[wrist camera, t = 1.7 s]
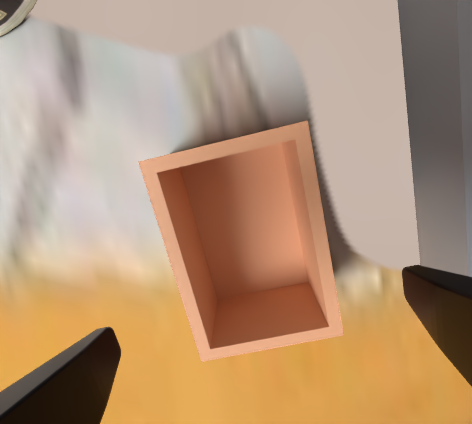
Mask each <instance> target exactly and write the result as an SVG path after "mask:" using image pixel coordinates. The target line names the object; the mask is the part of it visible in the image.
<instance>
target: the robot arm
mask: <svg viewBox="0 0 472 424" xmlns="http://www.w3.org/2000/svg"><path fill="white" fill-rule="evenodd" d="M402 278H403V287H404V295H405V298H406V300H407V302H408V303H409V305H410V306H411V308H412V309H413V311H414V312H415V314H416V315H417V316H418V318H419V319H420V321H421V322H422V324H423V325H424V327H425V328H426V330H427V331H428V333H429V334H430V336H431V337H432V339H433V340H434V341H435V343H436V344H437V345H438V347H439V348H440V349H441V351H442V352H443V353H444V354H445V355H446V357H447V358H448V359H449V360H450V361H451V363H452V364H453V365H454V366H455V367H456V369H457V370H458V371H459V372H460V373H461V374H462V376H463V377H464V378H465V379H466V380H467V382H468V383H469V384H470V385H471V386H472V277H470V276H465V275H461V274H456V273H452V272H447V271H443V270H438V269H434V268H430V267H425V266H421V265H414V266H409V267H405V268H403V270H402ZM120 357H121V349H120V346H119V343H118V340H117V338H116V335H115V333H114V330H113V329H112V328H111V327H104V328H99V329H97V330H95V331H93V332H92V333H90V334H89V335H87V336H86V337H84V338H83V339H81V340H80V341H78V342H77V343H75V344H73V345H72V346H70V347H69V348H67V349H66V350H64V351H63V352H61V353H60V354H58V355H57V356H55V357H53V358H52V359H50V360H49V361H47V362H46V363H44V364H43V365H41V366H40V367H38V368H37V369H35V370H33V371H32V372H30V373H29V374H27V375H26V376H24V377H23V378H21V379H20V380H18V381H17V382H15V383H13V384H12V385H10V386H9V387H7V388H6V389H4V390H3V391H1V392H0V424H100V422H101V420H102V417H103V414H104V411H105V409H106V406H107V403H108V399H109V396H110V393H111V389H112V385H113V382H114V378H115V375H116V371H117V368H118V364H119V361H120Z"/></svg>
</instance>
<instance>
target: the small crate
mask: <svg viewBox="0 0 472 424" xmlns="http://www.w3.org/2000/svg"><path fill="white" fill-rule="evenodd" d="M139 165H140V169H141V172H142V175H143V178H144V181H145V184H146V188H147V191H148V194H149V197H150V200H151V203H152V206H153V210H154V213H155V216H156V219H157V222H158V225H159V229H160V232H161V235H162V238H163V241H164V244H165V248H166V251H167V254H168V257H169V260H170V263H171V267H172V270H173V273H174V276H175V279H176V282H177V286H178V289H179V292H180V295H181V298H182V301H183V305H184V308H185V311H186V314H187V317H188V320H189V323H190V327H191V330H192V333H193V336H194V339H195V342H196V346H197V349H198V352H199V355H200V358H201V361H202V362H203V361H208V360H213V359H219V358H224V357H229V356H235V355H240V354H246V353H251V352H256V351H262V350H267V349H272V348H278V347H283V346H289V345H294V344H299V343H305V342H310V341H315V340H321V339H326V338H331V337H337V336H342V335H344V333H343V327H342V321H341V315H340V310H339V304H338V298H337V292H336V286H335V280H334V274H333V268H332V262H331V256H330V250H329V244H328V238H327V232H326V226H325V220H324V214H323V208H322V202H321V196H320V190H319V184H318V179H317V173H316V167H315V161H314V155H313V149H312V143H311V137H310V131H309V125H308V120H307V121H303V122H299V123H295V124H291V125H287V126H282V127H278V128H274V129H270V130H266V131H262V132H258V133H254V134H250V135H246V136H242V137H238V138H233V139H229V140H225V141H221V142H217V143H213V144H209V145H205V146H201V147H197V148H193V149H189V150H184V151H180V152H176V153H172V154H168V155H164V156H160V157H156V158H152V159H148V160H144V161H140V162H139Z"/></svg>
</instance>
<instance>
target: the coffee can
mask: <svg viewBox="0 0 472 424" xmlns="http://www.w3.org/2000/svg"><path fill="white" fill-rule="evenodd" d="M36 2H37V0H0V36H2V35H4V34H6V33H8V32H9V31H11V30H12V29H13V28H15V27H16V26H18V25H19V24H20V23H21V22H22V21H23V20H24V18H25V17H26V15H27V14H28V13H29V12H30V11H31V10H32V9H33V7H34V5H35V3H36Z"/></svg>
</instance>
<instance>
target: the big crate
mask: <svg viewBox="0 0 472 424" xmlns="http://www.w3.org/2000/svg"><path fill="white" fill-rule="evenodd" d="M398 9H399V20H400V32H401V43H402V56H403V67H404V77H405V90H406V102H407V113H408V125H409V136H410V148H411V159H412V171H413V183H414V194H415V206H416V218H417V229H418V241H419V252H420V264H421V266H425V267H430V268H434V269H438V270H443V271H447V272H452V273H456V274H461V275H465V276H470V277H472V0H398Z"/></svg>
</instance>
